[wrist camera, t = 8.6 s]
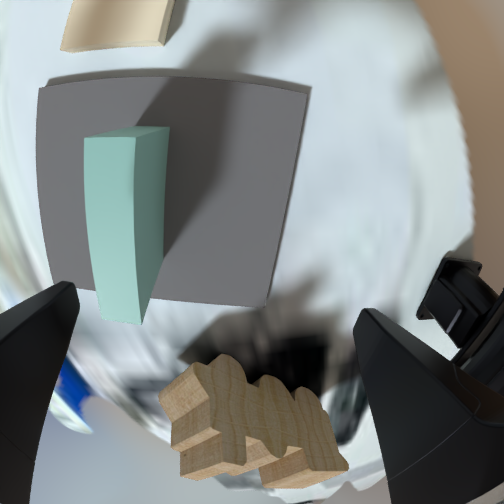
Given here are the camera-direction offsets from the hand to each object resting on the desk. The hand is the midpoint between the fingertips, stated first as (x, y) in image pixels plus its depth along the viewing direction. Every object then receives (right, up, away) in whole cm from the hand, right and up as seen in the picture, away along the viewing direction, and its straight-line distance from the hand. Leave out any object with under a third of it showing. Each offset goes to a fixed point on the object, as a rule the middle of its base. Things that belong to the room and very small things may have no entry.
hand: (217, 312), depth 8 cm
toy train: (+1, -11, +18) cm, 21 cm away
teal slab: (-5, +5, +7) cm, 10 cm away
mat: (-5, +5, +8) cm, 11 cm away
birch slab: (-6, +17, +2) cm, 18 cm away
